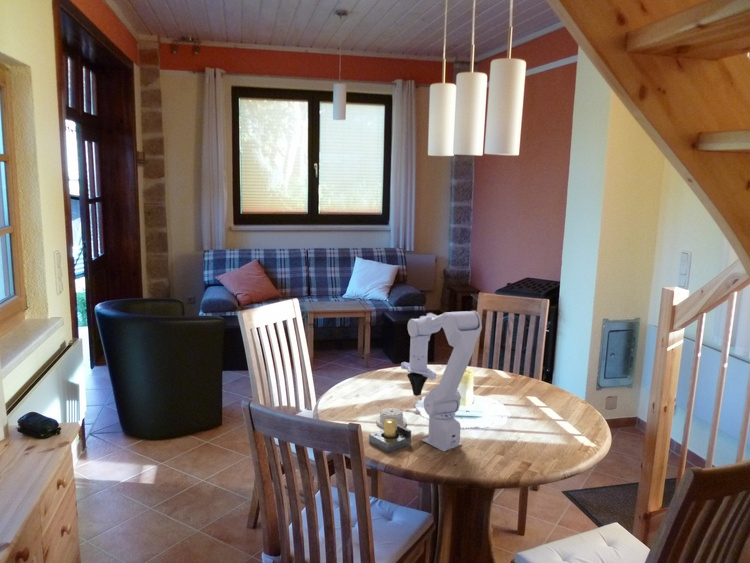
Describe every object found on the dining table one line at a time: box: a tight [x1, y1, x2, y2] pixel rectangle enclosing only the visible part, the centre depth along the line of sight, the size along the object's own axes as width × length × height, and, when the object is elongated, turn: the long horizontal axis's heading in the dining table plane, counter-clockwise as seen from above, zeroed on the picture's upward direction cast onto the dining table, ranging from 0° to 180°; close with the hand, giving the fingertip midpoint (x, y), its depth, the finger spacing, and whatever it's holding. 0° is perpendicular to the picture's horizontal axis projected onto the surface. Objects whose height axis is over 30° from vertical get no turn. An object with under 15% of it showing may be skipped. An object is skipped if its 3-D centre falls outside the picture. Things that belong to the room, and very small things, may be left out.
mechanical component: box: [375, 407, 407, 429], centre depth 197 cm, size 10×4×10 cm
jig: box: [368, 424, 412, 453], centre depth 181 cm, size 9×9×4 cm
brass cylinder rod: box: [383, 419, 397, 439], centre depth 181 cm, size 4×4×7 cm
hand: (417, 394), depth 196 cm, fingers closed
